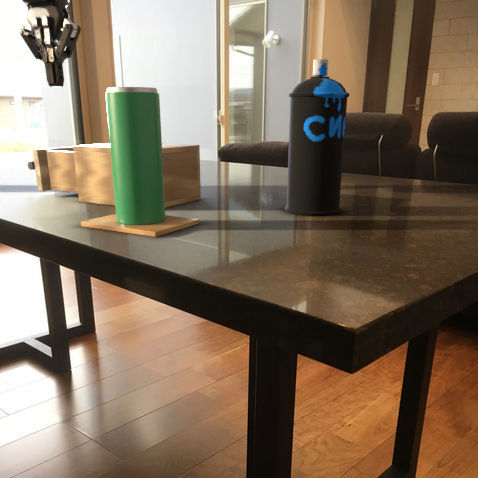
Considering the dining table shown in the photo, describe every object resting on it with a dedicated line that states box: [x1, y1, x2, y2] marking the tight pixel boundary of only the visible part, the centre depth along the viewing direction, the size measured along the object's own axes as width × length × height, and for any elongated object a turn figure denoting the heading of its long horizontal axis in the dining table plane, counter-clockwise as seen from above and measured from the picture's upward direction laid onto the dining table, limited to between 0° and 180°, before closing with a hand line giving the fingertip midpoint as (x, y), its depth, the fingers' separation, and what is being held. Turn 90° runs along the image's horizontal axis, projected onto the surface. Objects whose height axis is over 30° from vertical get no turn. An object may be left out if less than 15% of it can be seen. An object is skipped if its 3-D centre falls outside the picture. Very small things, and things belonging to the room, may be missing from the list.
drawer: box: [27, 145, 78, 193], centre depth 89 cm, size 19×11×7 cm, turn 60°
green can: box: [105, 86, 166, 225], centre depth 64 cm, size 6×6×16 cm
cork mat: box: [80, 213, 200, 238], centre depth 66 cm, size 12×9×1 cm
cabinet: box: [72, 142, 202, 209], centre depth 83 cm, size 16×12×9 cm
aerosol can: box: [284, 58, 350, 216], centre depth 73 cm, size 8×8×20 cm
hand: (56, 86), depth 92 cm, fingers closed
